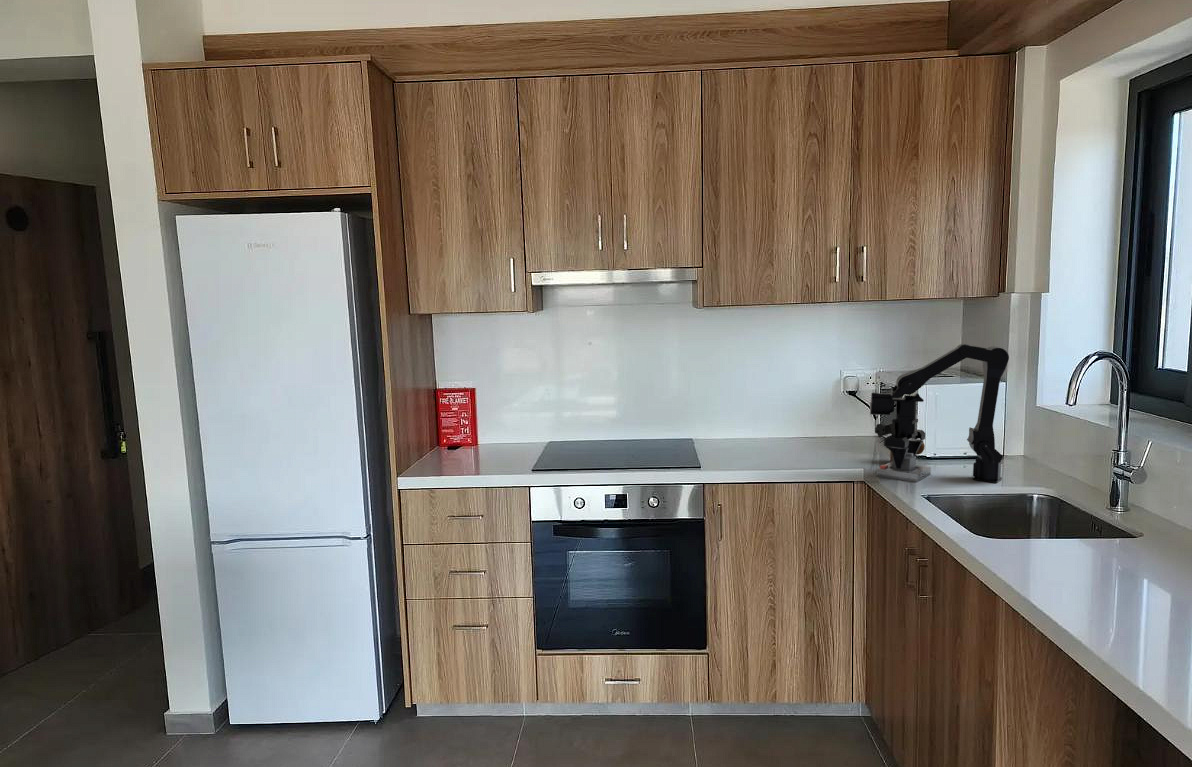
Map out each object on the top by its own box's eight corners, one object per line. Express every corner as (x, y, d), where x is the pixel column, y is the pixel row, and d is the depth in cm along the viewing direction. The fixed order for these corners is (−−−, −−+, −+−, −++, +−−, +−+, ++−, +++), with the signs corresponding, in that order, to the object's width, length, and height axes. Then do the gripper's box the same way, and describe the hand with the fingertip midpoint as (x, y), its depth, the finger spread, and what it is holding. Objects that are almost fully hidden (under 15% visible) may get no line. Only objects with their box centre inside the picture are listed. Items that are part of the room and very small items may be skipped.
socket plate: (930, 474, 228) (930, 465, 228) (916, 482, 220) (917, 472, 219) (891, 468, 236) (891, 459, 236) (876, 476, 228) (876, 466, 227)
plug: (915, 472, 228) (916, 453, 227) (909, 475, 224) (910, 456, 224) (898, 469, 232) (898, 451, 231) (891, 472, 228) (892, 454, 227)
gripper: (890, 409, 238) (889, 457, 240) (867, 417, 224) (865, 467, 226) (926, 412, 231) (924, 461, 232) (905, 420, 217) (903, 473, 219)
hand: (904, 465), depth 228 cm, fingers open, 9 cm apart
